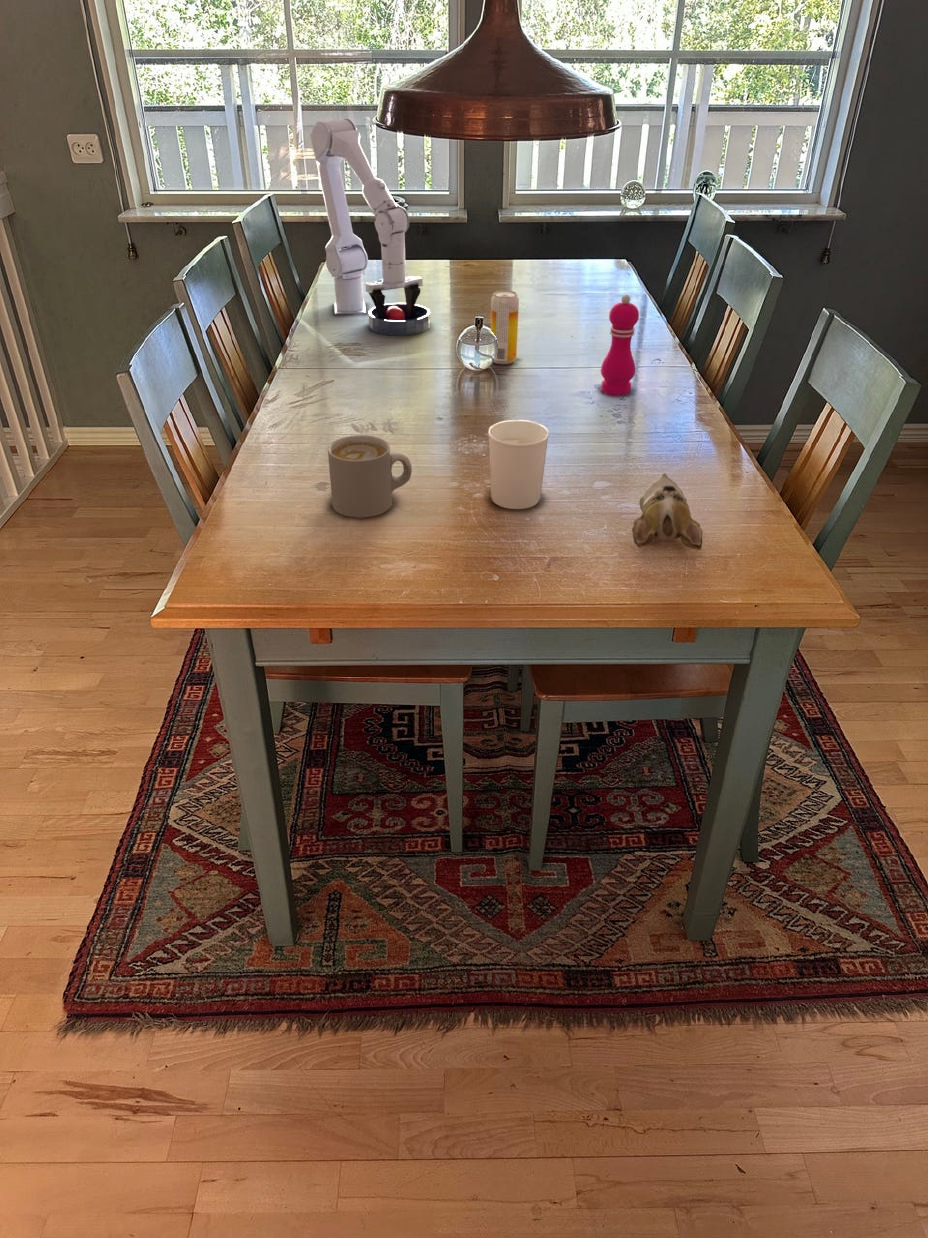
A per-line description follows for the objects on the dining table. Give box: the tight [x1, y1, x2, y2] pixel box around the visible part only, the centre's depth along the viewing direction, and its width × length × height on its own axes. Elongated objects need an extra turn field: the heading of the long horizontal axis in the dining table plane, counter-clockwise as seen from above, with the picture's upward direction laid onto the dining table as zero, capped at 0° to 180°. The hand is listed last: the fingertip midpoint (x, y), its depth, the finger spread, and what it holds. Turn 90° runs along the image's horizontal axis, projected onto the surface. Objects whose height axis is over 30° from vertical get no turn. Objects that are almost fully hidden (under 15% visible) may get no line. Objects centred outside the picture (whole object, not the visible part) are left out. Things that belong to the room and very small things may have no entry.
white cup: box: [487, 419, 550, 510], centre depth 148 cm, size 10×10×12 cm
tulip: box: [386, 306, 405, 321], centre depth 223 cm, size 11×4×4 cm, turn 27°
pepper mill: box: [600, 294, 640, 397], centre depth 186 cm, size 7×7×20 cm
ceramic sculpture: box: [631, 473, 703, 551], centre depth 139 cm, size 11×9×15 cm
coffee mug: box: [327, 434, 413, 519], centre depth 146 cm, size 13×10×10 cm
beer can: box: [490, 289, 520, 365], centre depth 202 cm, size 6×6×15 cm
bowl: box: [368, 302, 431, 337], centre depth 224 cm, size 15×15×4 cm
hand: (395, 318), depth 226 cm, fingers open, 7 cm apart
